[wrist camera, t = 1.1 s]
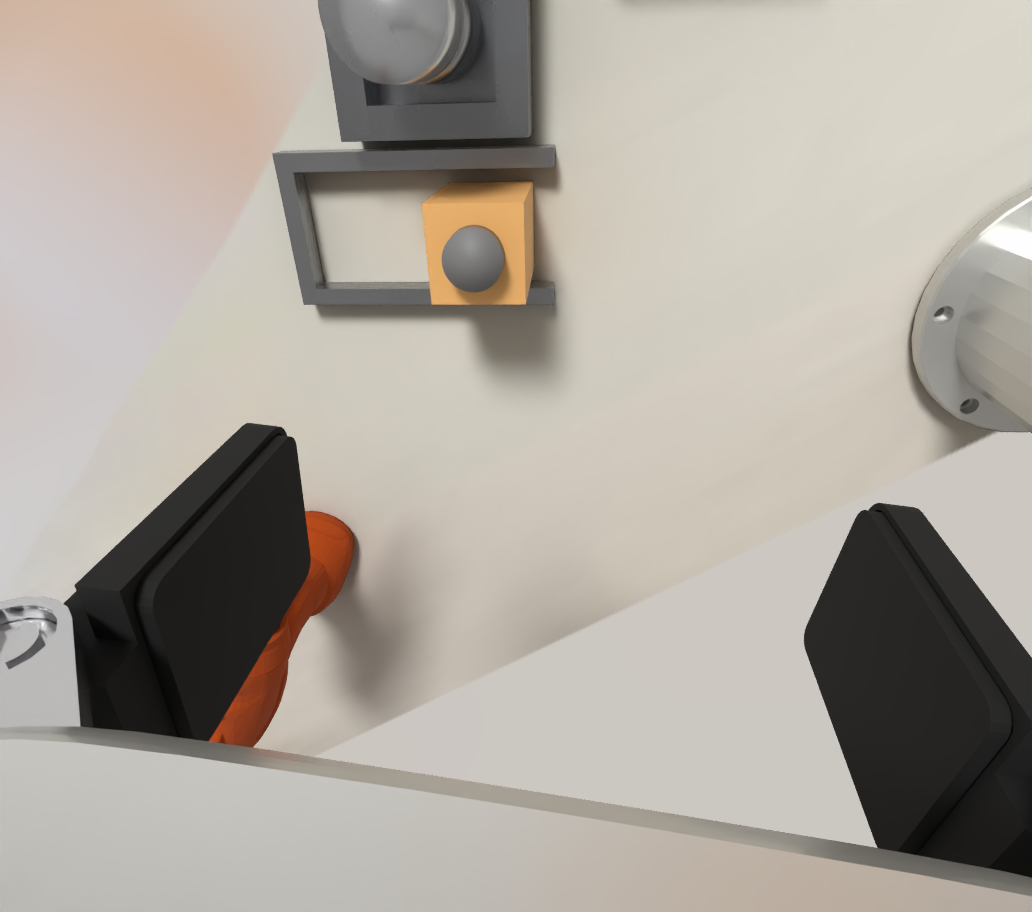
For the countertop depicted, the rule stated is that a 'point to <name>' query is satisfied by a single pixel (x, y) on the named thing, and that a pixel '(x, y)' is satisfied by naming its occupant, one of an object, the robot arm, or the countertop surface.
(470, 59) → the silver metal cylinder
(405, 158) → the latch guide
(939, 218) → the countertop surface
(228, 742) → the toy drill
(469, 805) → the robot arm
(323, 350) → the countertop surface
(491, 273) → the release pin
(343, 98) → the socket
